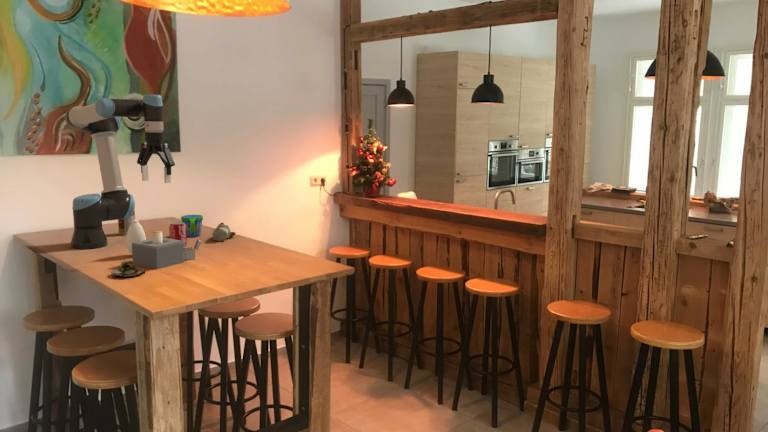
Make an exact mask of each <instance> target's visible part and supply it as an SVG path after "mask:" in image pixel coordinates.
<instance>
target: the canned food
mask: <svg viewBox="0 0 768 432" xmlns="http://www.w3.org/2000/svg"><path fill="white" fill-rule="evenodd" d="M134 215H135V216H136V214H135V209H134V212H133V214H132V216H131V217H129V218H126V219H122V220H120V219H119V220H117V224H118V235H119V236H126V235H127V231H128V228H129V226H130V224H131V223H132V220H134Z"/></svg>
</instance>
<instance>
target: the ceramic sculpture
mask: <svg viewBox="0 0 768 432" xmlns="http://www.w3.org/2000/svg"><path fill="white" fill-rule="evenodd" d="M235 235H236V232H235V231H231V229H230V226H229V225H227V224H225V223H224V222H220V223H219V224H217V226H216V228H215V229H214V230H213V232H212V238H213V239H214V240H215V241H217V242H224V241H226V240H227V239H228V238H233V237H234V236H235Z"/></svg>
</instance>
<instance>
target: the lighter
mask: <svg viewBox="0 0 768 432" xmlns="http://www.w3.org/2000/svg"><path fill="white" fill-rule="evenodd" d="M201 244H202V240H201V239H200V240H199V239H196V242H195V244H194V246H193V247H192V246H187V248H186V250H184V261H190V260H191V261H193V260H196V251H199V249H200V246H201Z"/></svg>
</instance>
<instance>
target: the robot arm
mask: <svg viewBox="0 0 768 432" xmlns="http://www.w3.org/2000/svg"><path fill="white" fill-rule="evenodd" d="M142 98H143V99H139V98H138V99H135V98H134V99H133V98H111V97H110V98H109V97H104V98H102V97H101V98H98V99H97V100H96V102H94V103H92V104H88V105H85V106H80V105H77V106H72V107H70V108H69V109H67V111H65V116H64V118H65V119H64V120H65V123H66V124H67V125H68V127H70V128H71V129H73V130H75V131H78V132H86V133H87V132H89V134H90V138H92V139H94V143H95V147H96V153H97V159H98V165H99V170H100V175H101V182H102V188H103V189H102V191H101V192H100V193H88V194H82V195H78V196H76V197H74V198H73V199H72V208H71V209H72V217H73V229H74V230H73V233H72V236H71V241H70V247H71V248H72V249H76V250H79V249H81V250H85V249H88V250H90V249H98V248H103V247H106V246H107V245H108V238H107V237H106V233H105V231H104V229H103V222H109V221H110V222H111V221H118V220H119V219H120V220H122V219H126V218H129V217H131V216H132V214H133V212H134V210H135V208H136V201H135V198H134V196H133V195H132V194H131V193H129V192H128V189H127V188H125V187H124V184H123V178H122V173H121V168H120V167H121V166H120V163H119V162H120V161H119V156H118V149H117V144H116V139H115V137H116V136H117V135H118V131H120V129H121V118H143V121H144V131H145V132H144V140H145V141H146V142H141V144H140V145H141V146H140V151H139V154H138V157H137V161H136V163H137V165H140V172H141V178H142V179H141V181H142V182H145V181H149V165H148V162H149V161H150V159H151V157H152V156H153V155H157V156H158V157H159V160H161V162H162V163H163V165H164V167H163V171H164V172H163V174H164V175H163V176H164V177H163V178H164V179H163V180H164V184H169V183H171V182H172V178H171V177H172V167H174V166H175V165H176V163H175V161H174V158H173V155H172V154H171V151H170V147H169V143H163V142H164V141H165V136H164V135H165V134H164V129H165V128H164V103H163V97H162V95H161V94H144V95H143V97H142Z"/></svg>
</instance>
